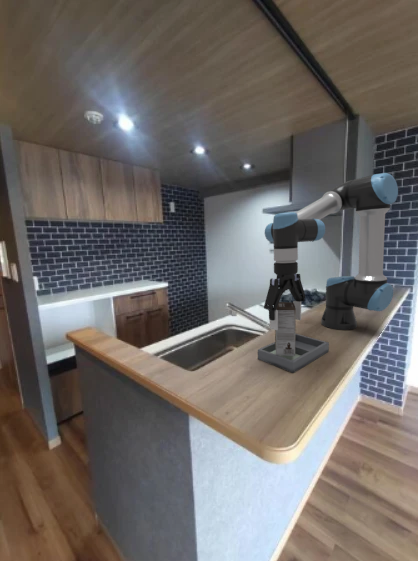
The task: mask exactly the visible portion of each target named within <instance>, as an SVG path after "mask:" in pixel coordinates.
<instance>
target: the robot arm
mask: <svg viewBox="0 0 418 561" xmlns="http://www.w3.org/2000/svg"><path fill="white" fill-rule="evenodd" d="M398 196H399V186H398V183H397V180H396V179H395V177H394V176H393V175H392V174H390V173H387V172H382V173H376V174H371V175H368V176H364V177H363V176H362V177H360V178H355V179H351V180H348V181H345V182H343V183H341V184H339V185H337V186H335V187H334V188H332V189H330V190H328V191H326V192H325V193H324V194H323V195H322V197H321V198H319V199H317V200H315V201H313V202H311V203H310V204H308V205H306V206H305V207H303V208H301V209H299V210H298V211H296V212H294V211H293V212H288V211H287V212H279V213H276V214H275V215H273V218H272V220H273V221H272V222H271V223H269V224H267V225H266V227H265V228H264V237H265V239H266V240H267V241H268V242H270V243H273V261H274V263H273V272H274V273H273V274H275V275H276V278H272V277H271V278H270V279H269V287H268V290H267V292H266V294H267V295H266V297H265V302H264V305H263V308H264V309H265V310H268V320H269V329H270V330H274V331H275V330H278V310H276V308H277V306H278V303H279V302H281V298H282V296H283V294H284V293H286V291H288V290H289V293H290V294H291V296H292V297H293V299H294V300H293V301H292V302H293V303H294V305H295V308H296V321H297V320H298V321H301V320H302V302H305V301H306V300H305V299H306V293H305V290H304V287H303V283H302V281H301V280H302V279H301V274H300V273H298V271H299V268H298V267H299V265H298V264H299V263H298V262H297V261H298V260H299V254H298V253H299V252H298V250H299V249H298V247H299V244H298V243H304V242H305V243H308V242H316V241H319V240H321V239H322V238H323V237H324V236H325V234H326V225H325V223H324V222H323V221H322V219H324V218H325V217H327V216H328V215H330V214H337V213H338V212H341V211H344V210H351V209H355V213H356V214H357V215H358V216H359V233H358V234H359V236H358V237H359V238H358V241H359V243H358V274H357V275H355V276H353V275H347V276H332V277H329V278H327V280H326V286H325V309H324V310H323V311H324V312H323V313H322V317H321V321H320V323H321V325H322V326H324V327H325V328H326V327H327V328H329V329H333V330H340V331H341V330H342V331H346V330H353V329H356V328H357V327H358V326H357V325H358V323H357V322H358V321H357V319H356V315H355V313H354V308H360V309H364V310H368V311H375V312H383V311H385V310H386V309H387V308H388V307H389V305H390V304H391V302H392V300H393V297H394V287H393V285H392V284H390V283H388V277H386V275H384V249H385V230H386V229H385V225H386V224H385V222H386V213H388V212H389V211H390V210H391V205H392V204H394V203H395V202H396V201H397V198H398Z"/></svg>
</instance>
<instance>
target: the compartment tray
mask: <svg viewBox="0 0 418 561" xmlns="http://www.w3.org/2000/svg"><path fill="white" fill-rule="evenodd" d="M329 346H330V345H329V342H328V341H324V340H320V339H317V338H315V337H310V336H307V335H303V334H299V333H296V332H295V356H283V355H276V348H275V341H274V342H271V343H269V344H267V345H265V346H263V347H260V348H258V349H257V360H259V361H262V362H264V363H267V364H269V365H272V366H275V367H276V368H280V369H282V370H285V371H286V372H289V373H291V374H294V373H296V372H297V371H299V370H301V369H302V368H304V367H306V366H307V365H309V364H311V363H312V362H314V361H316V360H318V359H319V358H321V357H322V356H324V355H325V354H327V353H329V352H330V351H329V349H330V347H329Z"/></svg>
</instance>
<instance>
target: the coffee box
mask: <svg viewBox="0 0 418 561" xmlns="http://www.w3.org/2000/svg"><path fill="white" fill-rule="evenodd" d="M276 310H278V330H274V342H275V348H276V355H283V356H295V333H296V328H297V326H296V322H297V319H296V308H295V305H294V303H293V301H287V302H286V301H279V303H278V306H277V308H276Z"/></svg>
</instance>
